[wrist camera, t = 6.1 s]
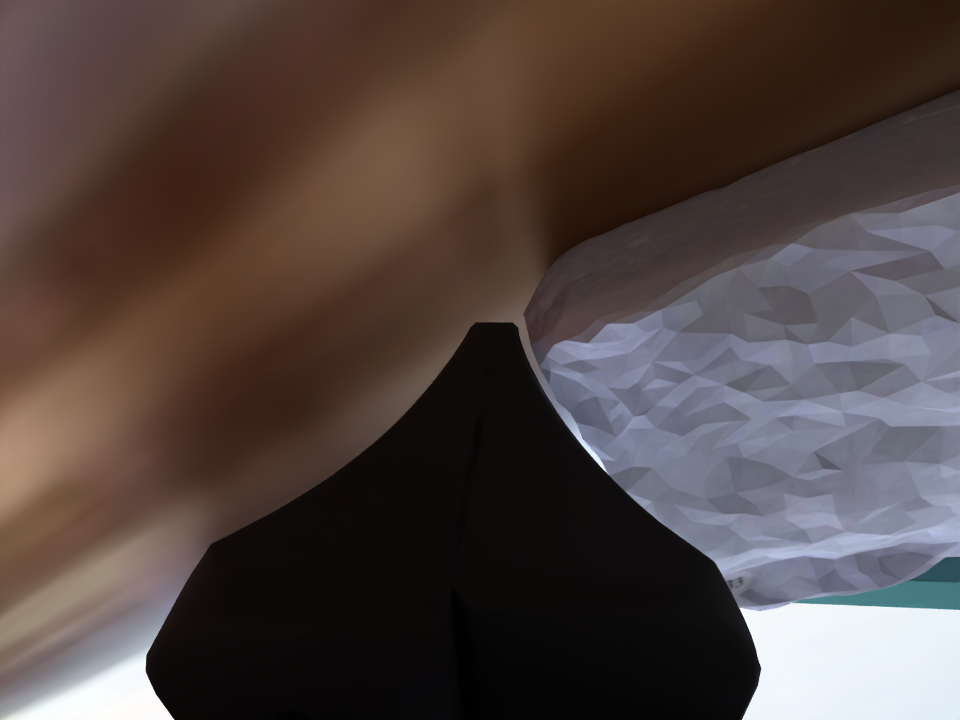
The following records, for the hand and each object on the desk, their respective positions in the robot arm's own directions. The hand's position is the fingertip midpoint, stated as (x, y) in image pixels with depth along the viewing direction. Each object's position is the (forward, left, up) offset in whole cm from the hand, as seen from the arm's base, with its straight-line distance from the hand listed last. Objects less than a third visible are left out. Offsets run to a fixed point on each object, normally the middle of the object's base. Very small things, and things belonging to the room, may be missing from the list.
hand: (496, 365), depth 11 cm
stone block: (0, -8, -2) cm, 8 cm away
